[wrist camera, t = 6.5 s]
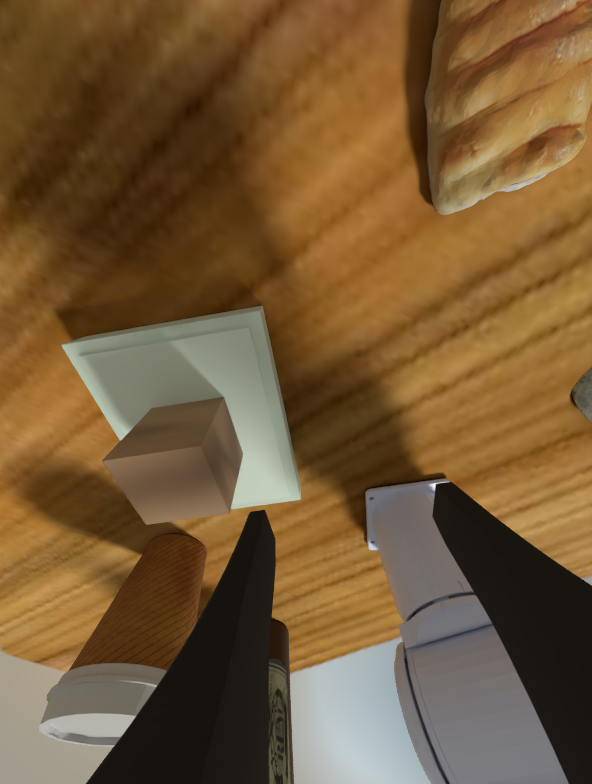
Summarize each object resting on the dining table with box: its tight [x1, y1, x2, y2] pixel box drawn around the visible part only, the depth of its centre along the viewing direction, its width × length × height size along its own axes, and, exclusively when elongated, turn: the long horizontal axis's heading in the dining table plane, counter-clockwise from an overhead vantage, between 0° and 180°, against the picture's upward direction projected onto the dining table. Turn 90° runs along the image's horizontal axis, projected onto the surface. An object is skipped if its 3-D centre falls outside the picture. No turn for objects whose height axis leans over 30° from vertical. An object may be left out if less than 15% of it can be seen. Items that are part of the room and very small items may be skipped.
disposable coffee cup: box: [39, 534, 207, 747], centre depth 22 cm, size 10×10×12 cm
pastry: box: [424, 0, 592, 215], centre depth 10 cm, size 9×7×4 cm
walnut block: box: [102, 397, 243, 525], centre depth 15 cm, size 5×5×5 cm
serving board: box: [61, 306, 301, 509], centre depth 19 cm, size 16×12×2 cm
